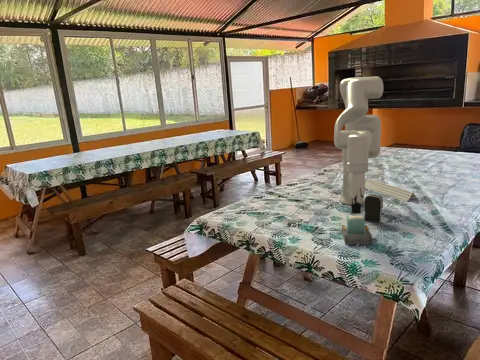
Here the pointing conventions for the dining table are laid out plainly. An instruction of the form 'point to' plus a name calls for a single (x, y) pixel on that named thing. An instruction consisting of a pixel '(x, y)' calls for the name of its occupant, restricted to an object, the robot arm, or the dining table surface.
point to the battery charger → (373, 208)
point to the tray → (357, 237)
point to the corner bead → (389, 190)
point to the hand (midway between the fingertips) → (355, 212)
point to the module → (355, 225)
